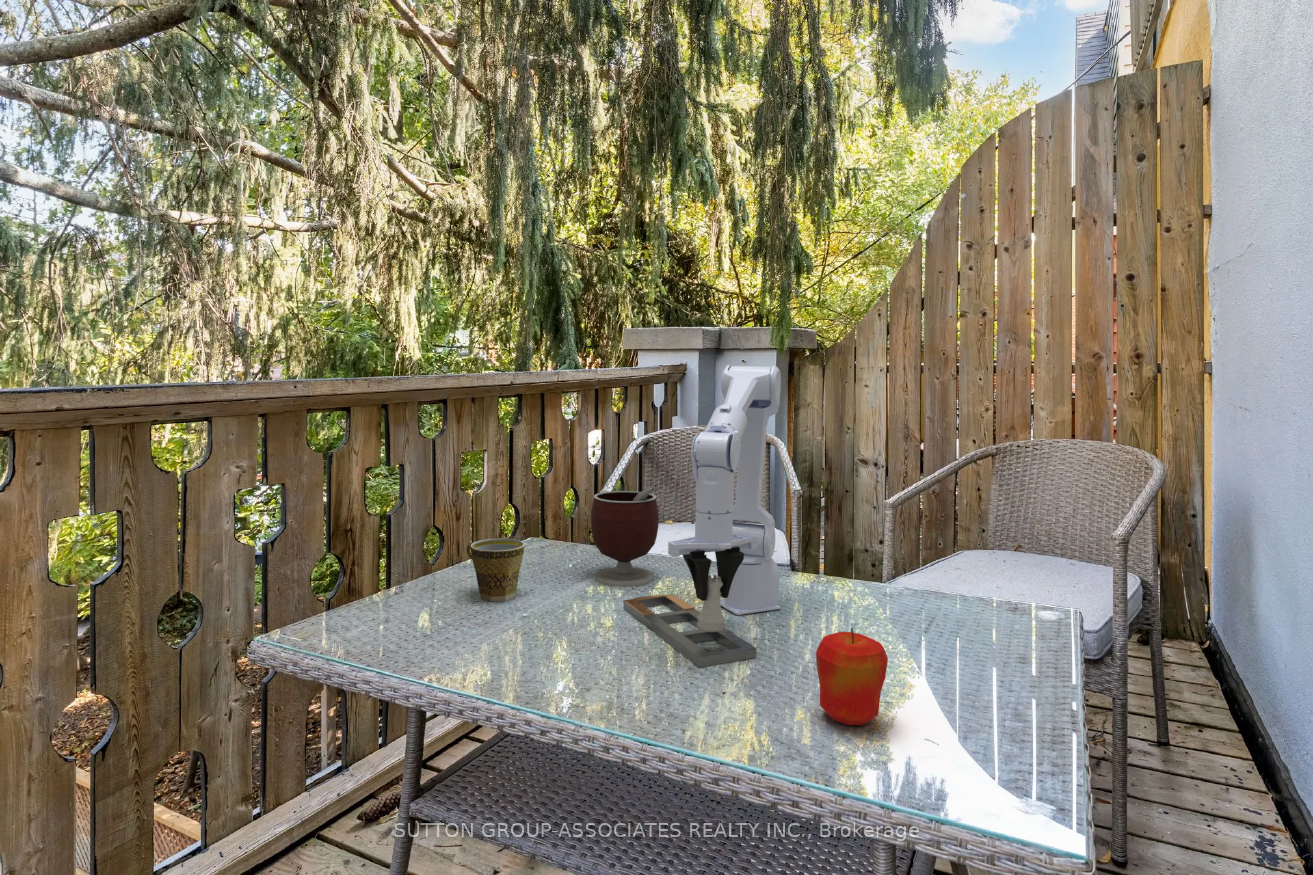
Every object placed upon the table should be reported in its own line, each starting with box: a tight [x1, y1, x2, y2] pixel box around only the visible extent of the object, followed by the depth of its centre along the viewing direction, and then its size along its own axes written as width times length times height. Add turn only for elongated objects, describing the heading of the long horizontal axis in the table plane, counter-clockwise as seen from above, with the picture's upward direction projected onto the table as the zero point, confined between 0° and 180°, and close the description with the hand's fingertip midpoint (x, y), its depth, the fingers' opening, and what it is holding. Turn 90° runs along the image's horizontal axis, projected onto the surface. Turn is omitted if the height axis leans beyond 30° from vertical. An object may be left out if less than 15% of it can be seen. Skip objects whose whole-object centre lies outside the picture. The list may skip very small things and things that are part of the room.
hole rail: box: [622, 593, 757, 668], centre depth 125 cm, size 10×29×2 cm, turn 25°
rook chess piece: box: [697, 574, 726, 632], centre depth 116 cm, size 4×4×8 cm
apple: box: [815, 627, 889, 726], centre depth 94 cm, size 9×8×12 cm
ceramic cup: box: [466, 538, 526, 603], centre depth 142 cm, size 13×10×10 cm
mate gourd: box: [590, 487, 660, 587], centre depth 154 cm, size 16×14×20 cm
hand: (712, 597), depth 116 cm, fingers closed on rook chess piece, 3 cm apart
